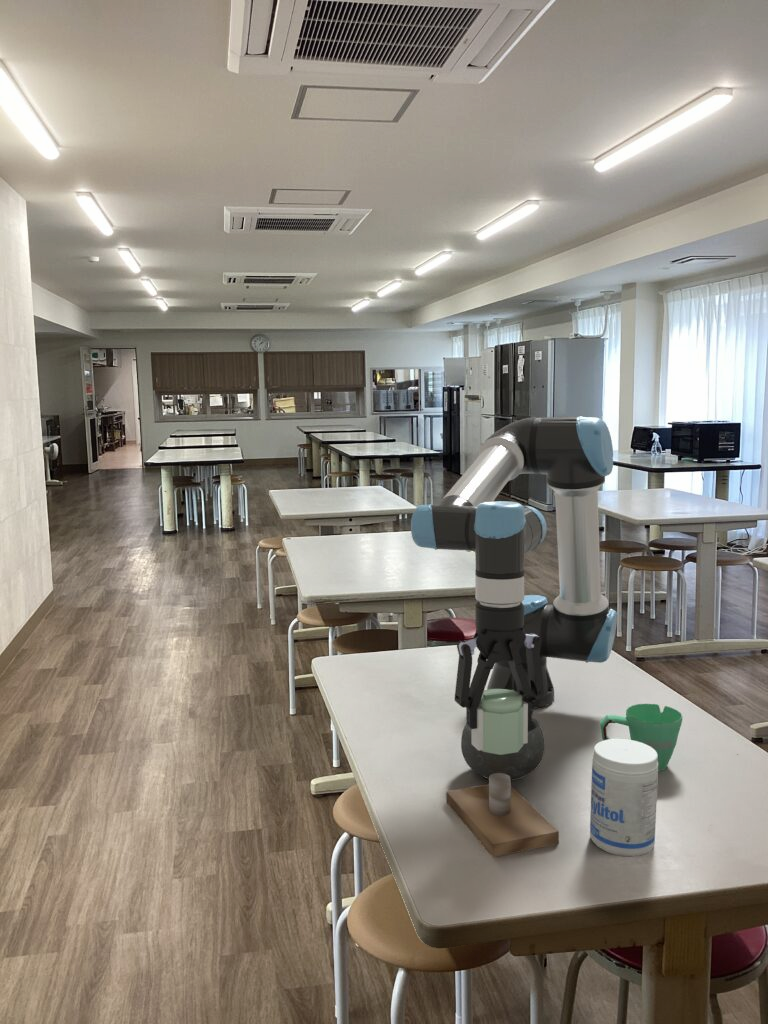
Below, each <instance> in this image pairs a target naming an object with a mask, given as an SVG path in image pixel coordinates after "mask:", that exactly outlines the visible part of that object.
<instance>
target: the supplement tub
mask: <svg viewBox="0 0 768 1024" xmlns="http://www.w3.org/2000/svg"><path fill="white" fill-rule="evenodd" d="M658 777H659V771H658V755H657V752H656V751H655V750H654V749H653V748H652V747H650V746H648V745H646V744H644V743H641V742H638V741H633V740H631V739H626V738H625V739H624V738H609V739H608V740H604V741H603V740H602V741H599V742H597V743H596V744H594V748H593V754H592V764H591V786H590V787H591V790H590V815H589V816H590V818H589V819H590V821H589V822H590V823H589V835H590V839H591V840H592V842H593V843H594V845H596V846H597V847H598V848H600V849H601V850H603V851H605V852H607V853H610V854H613V855H617V856H618V855H619V856H622V857H623V856H624V857H637V856H642V855H645V854H647V853H649V852H650V851H651V850H652V849H653V848H654V846H655V842H656V841H655V839H656V822H657V821H656V819H657V801H658V800H657V799H658V783H659V781H658V780H659V779H658Z"/></svg>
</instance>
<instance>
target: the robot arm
mask: <svg viewBox="0 0 768 1024" xmlns="http://www.w3.org/2000/svg"><path fill="white" fill-rule="evenodd" d="M613 458H614V449H613V441H612V437H611V432H610V429H609V427H608V426H607V424H606V422H605V420H603V419H602V418H600V417H590V416H589V417H587V416H582V415H581V416H557V417H556V416H554V417H553V416H552V417H551V416H549V417H537V416H536V417H526V418H522V419H519V420H516V421H513V422H511V423H509V424H507V425H504V427H501V428H500V429H498V430H496V431H495V432H494V433H493V434H491V435H490V436H489V437H488V438H486V440H484V441H483V443H482V444H481V446H480V447H479V449H478V453H477V457H476V459H475V460H474V461H473V463H472V464H471V465H470V466H469V467H468V468H467V470H465V472H464V473H462V475H461V477H459V479H457V481H456V482H455V484H453V486H452V487H451V488H450V490H449V491H448V492H447V493H446V494H445V495H444V496H443V498H442V499H441V500H440V501H439V502H438V503H437V504H432V503H429V504H420V505H418V506H417V507H415V509H414V510H413V513H412V515H411V522H410V532H411V538H412V540H413V542H414V544H415V545H416V546H418V547H420V548H426V549H432V550H433V549H434V550H435V551H436V550H449V551H450V550H452V551H469V552H475V554H474V555H475V556H474V557H475V560H474V561H475V571H474V572H475V578H474V579H475V580H474V581H475V583H474V584H475V599H476V601H477V602H476V603H475V615H474V617H475V633H474V635H473V637H472V639H469V640H467V641H463V640H459V641H457V642H456V649H457V652H458V662H457V663H458V664H457V672H456V673H457V674H456V683H455V692H454V702H455V703H456V704H457V705H459V706H460V707H461V708H465V710H466V711H465V712H466V715H465V717H466V719H465V720H466V723H467V726H468V727H469V728H470V729H471V744H472V745H473V746H474V747H475V748H476V749H477V750H478V751H480V750H483V709H481V708H480V707H479V703H480V701H481V698H482V695H483V692H484V690H488V689H507V690H514V691H515V692H518V693H519V694H521V696H522V705H523V706H524V729H523V744H526V743H528V721H531V719H532V718H533V709H539V708H543V707H547V706H549V705H551V704H552V703H553V702H554V701H555V687H554V684H553V681H552V679H551V675H550V672H549V669H548V667H547V666H548V665H547V661H548V660H547V658H552V659H559V660H563V659H564V660H568V661H569V660H570V661H576V662H577V661H579V662H585V663H587V664H588V663H599V664H600V663H604V662H606V661H608V659H609V658H610V655H611V653H612V649H613V646H614V642H615V636H616V631H617V625H618V612H617V610H614V609H612V608H609V599H608V598H607V597H606V596H605V595H603V594H602V590H601V589H602V588H601V586H602V585H601V558H600V556H601V555H600V528H599V527H600V525H599V523H600V522H599V495H598V494H599V493H598V492H599V489H600V488H601V487H602V486H603V485H604V484H605V483H606V477H607V476H609V475H611V473H612V471H613V467H614V459H613ZM522 474H524V475H525V474H527V475H528V474H533V475H534V474H535V475H546V484H547V486H548V487H549V488H551V490H553V491H554V493H555V494H554V495H555V496H554V498H555V502H554V503H555V515H556V516H555V517H556V518H555V519H556V539H557V540H556V541H557V560H558V562H557V563H558V581H559V582H558V583H559V595H557V597H555V598H554V600H553V602H552V603H553V604H549V601H548V599H547V597H546V596H544V595H541V594H527V595H525V555H526V554H528V553H529V552H533V551H535V549H537V548H538V547H539V546H540V544H541V543H542V542H543V541H544V540H545V538H546V535H547V532H548V531H547V530H548V526H547V521H546V518H545V517H544V515H543V514H542V513H541V512H540V510H538V509H536V508H535V507H533V506H530V505H522V504H521V503H519V502H516V501H506V500H505V501H504V500H503V501H501V500H499V501H495V499H496V498H497V496H499V494H500V493H501V491H502V490H503V488H504V487H505V486H506V485H507V483H508V482H509V481H513V480H515V479H516V478H517V477H518V476H519V475H522ZM476 648H477V649H478V651H479V654H478V657H477V665H476V667H475V671H474V674H473V676H472V667H473V655H475V649H476ZM490 673H491V675H490ZM471 677H472V680H471ZM488 679H489V681H488ZM487 682H488V684H487ZM485 688H486V689H485ZM466 723H465V724H466Z"/></svg>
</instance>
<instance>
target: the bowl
mask: <svg viewBox="0 0 768 1024" xmlns="http://www.w3.org/2000/svg"><path fill="white" fill-rule="evenodd" d="M545 746H546V745H545V734H544V732H543V729H542V726H541V725H540V722H539V721H538V720H536V718H534V717H532V719H531V721H528V743H526V744H523V746H522V748H521V749H520V750H519V751H518V752H516V753H509V754H503V755H499V754H494V753H488V752H483V751H482V750H480V751H478V750H477V749H476V748H475V747H474V746H473V745H472V744H471V729H470V728H469V727H468V726H467V723H465V725H464V727H463V729H462V732H461V740H460V748H461V749H460V750H461V753H462V756H463V759H464V761H465V763H466V764H467V765H468V766H469V768H470V769H471V770H472V771H474V772H475V773H476V774H479V775H480V776H482V777H484V778H485V779H489V776H490V775H491V774H495V773H503V774H507V775H509V776H510V778H511V781H514V780H518V779H521V778H524V777H526V776H527V775H529V774H531V773H533V772H534V771H535V770H536V769H538V767H539V766H540V764H541V763H542V760H543V758H544V754H545V749H546V747H545Z"/></svg>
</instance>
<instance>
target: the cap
mask: <svg viewBox="0 0 768 1024" xmlns="http://www.w3.org/2000/svg"><path fill="white" fill-rule="evenodd" d="M479 707H480V708H481V709H483V750H482V751H483V752H488V753H494V754H499V755H503V754H509V753H516V752H518V751H519V750H520V749H521V748H522V746H523V729H524V706H523V705H522V696H521V694H519V693H518V692H515V691H514V690H507V689H488V690H487V689H484V692H483V695H482V698H481V701H480V703H479Z"/></svg>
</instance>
